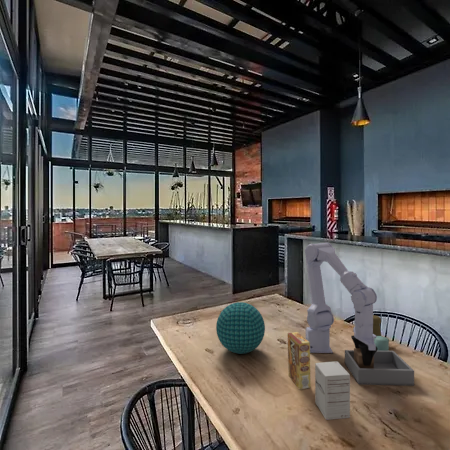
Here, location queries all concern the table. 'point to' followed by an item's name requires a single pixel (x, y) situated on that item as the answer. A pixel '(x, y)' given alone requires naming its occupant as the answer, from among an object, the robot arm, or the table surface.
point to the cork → (376, 325)
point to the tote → (381, 370)
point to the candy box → (299, 360)
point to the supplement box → (332, 390)
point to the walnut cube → (359, 359)
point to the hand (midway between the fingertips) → (363, 360)
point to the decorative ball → (240, 328)
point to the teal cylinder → (382, 343)
